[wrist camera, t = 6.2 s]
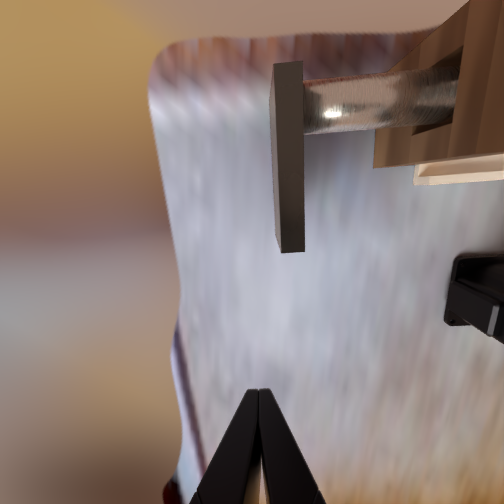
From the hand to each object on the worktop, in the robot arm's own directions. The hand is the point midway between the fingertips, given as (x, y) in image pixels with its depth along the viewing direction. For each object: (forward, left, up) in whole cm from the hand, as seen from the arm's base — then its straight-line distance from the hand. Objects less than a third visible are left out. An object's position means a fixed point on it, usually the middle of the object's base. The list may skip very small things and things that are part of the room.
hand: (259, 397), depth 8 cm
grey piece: (-6, -8, -9) cm, 14 cm away
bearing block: (-11, -11, -13) cm, 20 cm away
